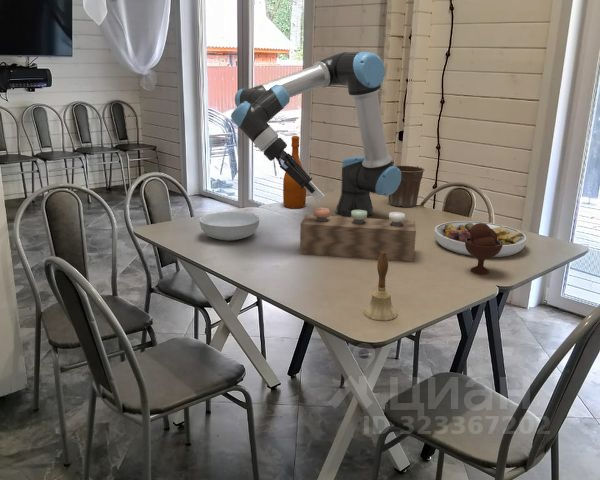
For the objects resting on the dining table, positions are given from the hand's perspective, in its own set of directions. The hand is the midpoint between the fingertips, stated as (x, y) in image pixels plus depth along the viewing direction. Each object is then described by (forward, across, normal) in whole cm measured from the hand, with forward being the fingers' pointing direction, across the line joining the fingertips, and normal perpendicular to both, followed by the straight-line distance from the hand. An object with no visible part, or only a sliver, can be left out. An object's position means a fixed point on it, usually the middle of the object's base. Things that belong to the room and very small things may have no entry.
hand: (321, 198), depth 184 cm
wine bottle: (-1, -57, -25) cm, 62 cm away
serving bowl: (-11, -7, -36) cm, 38 cm away
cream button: (+24, 0, +11) cm, 26 cm away
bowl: (+50, -16, +25) cm, 58 cm away
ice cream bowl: (+48, +10, +23) cm, 54 cm away
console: (+21, 0, -3) cm, 21 cm away
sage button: (+16, 0, +2) cm, 16 cm away
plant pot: (+31, -72, +7) cm, 79 cm away
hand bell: (+28, +47, +3) cm, 55 cm away
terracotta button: (+7, 0, -6) cm, 10 cm away
